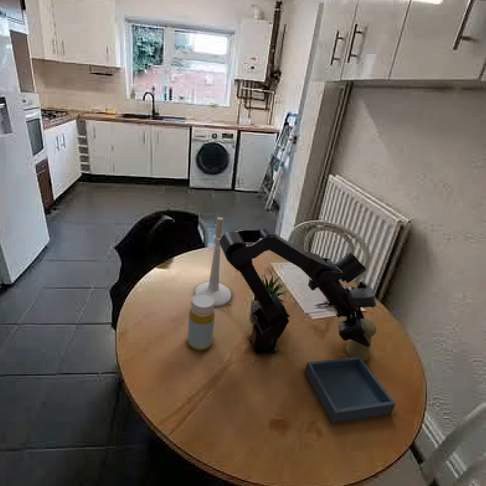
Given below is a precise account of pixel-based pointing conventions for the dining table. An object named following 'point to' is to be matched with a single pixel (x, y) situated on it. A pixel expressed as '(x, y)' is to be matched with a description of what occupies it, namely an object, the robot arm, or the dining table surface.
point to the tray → (348, 389)
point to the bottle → (201, 321)
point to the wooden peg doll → (358, 349)
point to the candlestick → (216, 273)
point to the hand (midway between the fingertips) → (366, 334)
